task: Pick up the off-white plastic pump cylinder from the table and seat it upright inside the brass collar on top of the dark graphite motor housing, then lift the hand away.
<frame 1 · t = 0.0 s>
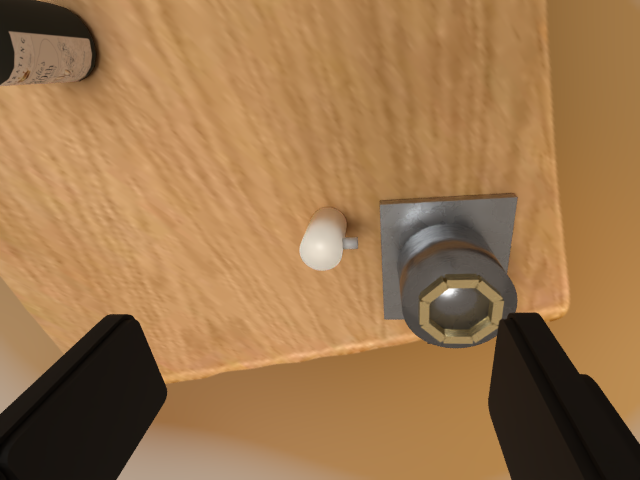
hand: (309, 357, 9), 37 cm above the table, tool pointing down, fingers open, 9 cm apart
motor: (441, 259, 48), on the table
wine bottle: (70, 45, 42), on the table
pump: (328, 224, 48), on the table
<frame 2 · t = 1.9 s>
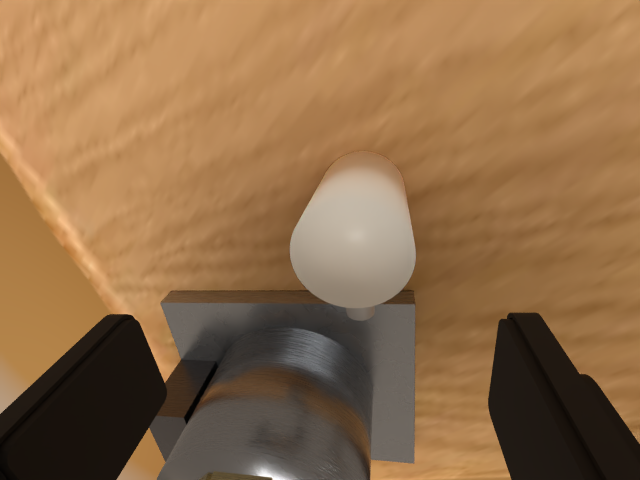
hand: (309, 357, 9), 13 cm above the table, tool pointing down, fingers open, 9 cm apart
motor: (299, 373, 29), on the table
pump: (362, 193, 21), on the table
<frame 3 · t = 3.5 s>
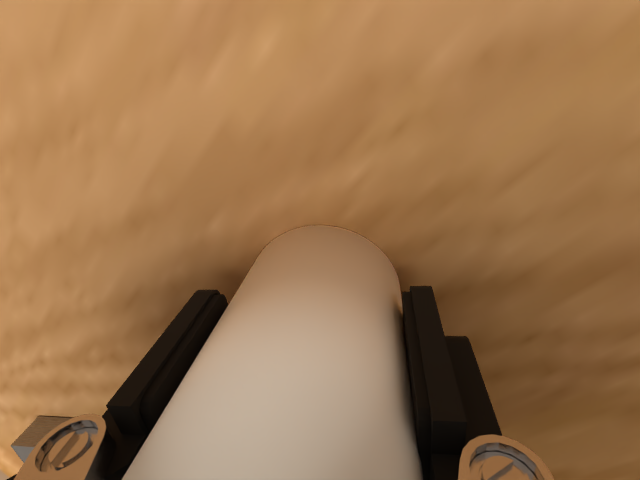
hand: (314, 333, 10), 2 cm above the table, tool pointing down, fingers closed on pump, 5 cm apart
pump: (323, 293, 12), on the table, touching gripper
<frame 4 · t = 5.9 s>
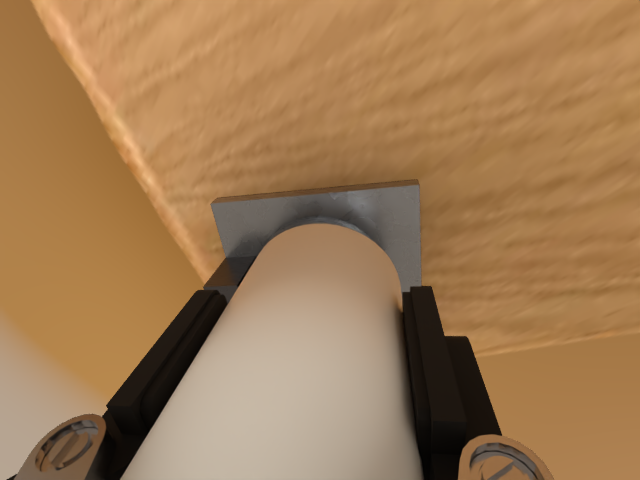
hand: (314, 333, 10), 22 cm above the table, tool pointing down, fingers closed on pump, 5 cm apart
motor: (324, 267, 34), on the table
pump: (324, 292, 12), point 20 cm above the table, touching gripper
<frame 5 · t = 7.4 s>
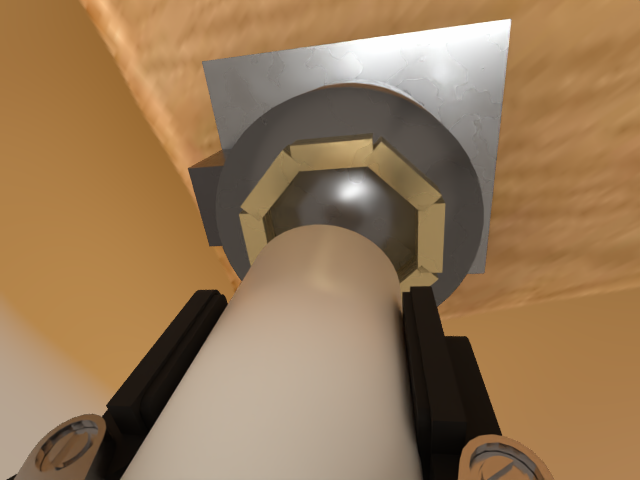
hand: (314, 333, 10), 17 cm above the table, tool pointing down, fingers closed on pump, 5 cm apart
motor: (355, 169, 25), on the table
pump: (323, 293, 12), point 15 cm above the table, touching gripper
when the fingers open (13 cm above the table, at t = 8.4 s): pump stays where it is, resting on motor.
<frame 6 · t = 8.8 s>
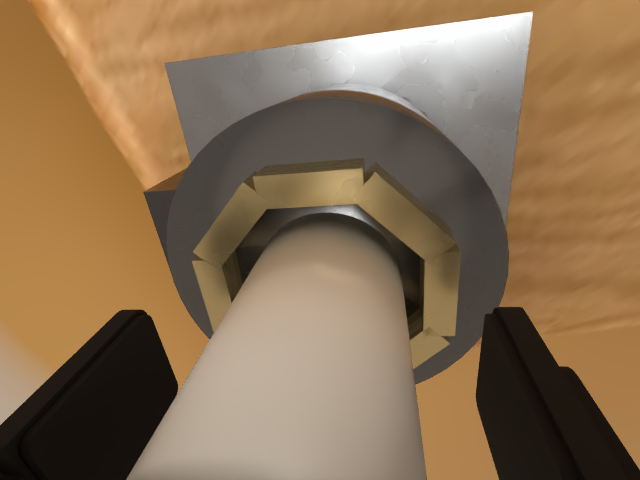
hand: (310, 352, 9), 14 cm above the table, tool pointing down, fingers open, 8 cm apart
motor: (347, 187, 22), on the table
pump: (329, 277, 12), point 11 cm above the table, touching motor
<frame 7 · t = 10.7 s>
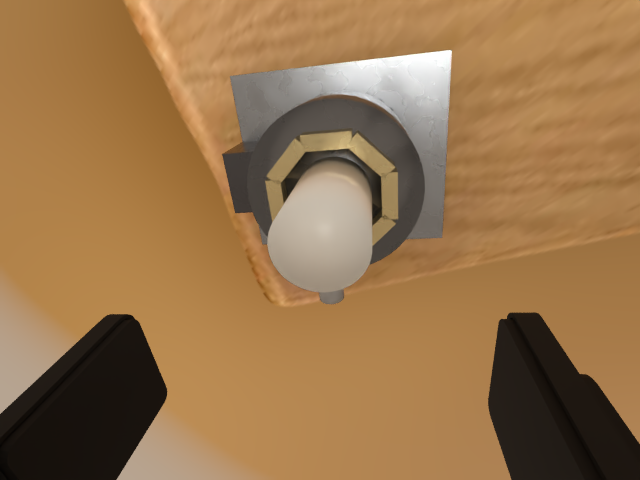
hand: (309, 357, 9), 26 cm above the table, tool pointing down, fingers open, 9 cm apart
motor: (343, 158, 33), on the table
pump: (334, 193, 24), point 11 cm above the table, touching motor
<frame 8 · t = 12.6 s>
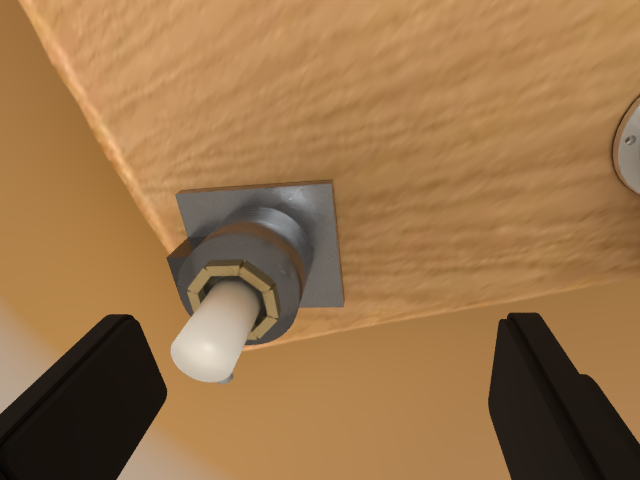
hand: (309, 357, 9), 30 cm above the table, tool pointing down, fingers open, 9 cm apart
motor: (266, 247, 43), on the table
pump: (237, 297, 34), point 11 cm above the table, touching motor
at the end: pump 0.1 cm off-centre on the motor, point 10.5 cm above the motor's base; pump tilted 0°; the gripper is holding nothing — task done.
